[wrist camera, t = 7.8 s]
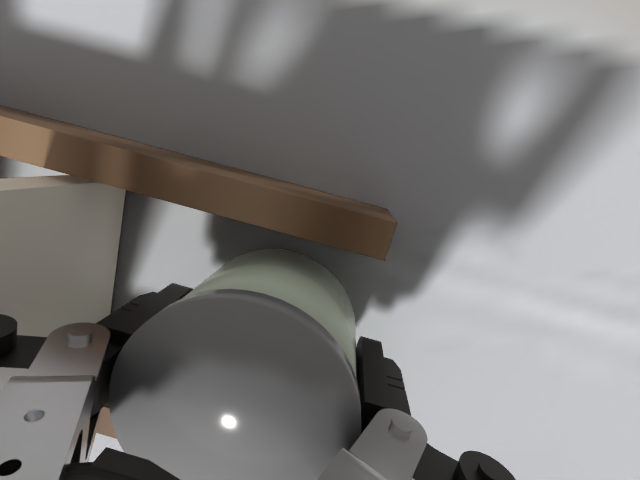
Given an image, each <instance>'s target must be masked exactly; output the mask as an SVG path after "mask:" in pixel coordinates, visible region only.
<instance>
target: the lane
mask: <svg viewBox="0 0 640 480" xmlns="http://www.w3.org/2000/svg"><path fill="white" fill-rule="evenodd" d="M0 156H3V157H7V158H10V159H14V160H18V161H21V162H25V163H29V164H32V165H36V166H40V167H43V168H47V169H51V170H54V171H58V172H62V173H65V174H69V175H73V176H76V177H80V178H84V179H87V180H91V181H95V182H98V183H102V184H106V185H109V186H113V187H117V188H120V189H124V190H128V191H131V192H135V193H139V194H142V195H146V196H150V197H153V198H157V199H161V200H164V201H168V202H172V203H175V204H179V205H183V206H186V207H190V208H194V209H197V210H201V211H205V212H208V213H212V214H216V215H219V216H223V217H227V218H230V219H234V220H238V221H241V222H245V223H249V224H252V225H256V226H260V227H263V228H267V229H271V230H274V231H278V232H282V233H285V234H289V235H293V236H296V237H300V238H304V239H307V240H311V241H315V242H318V243H322V244H326V245H329V246H333V247H337V248H340V249H344V250H348V251H351V252H355V253H359V254H362V255H366V256H370V257H373V258H377V259H381V260H384V261H385V259H386V256H387V253H388V250H389V247H390V244H391V240H392V237H393V234H394V231H395V228H396V225H397V222H396V221H395V219H394V218H393V217H392V215H391V214H390V213H389V211H388V210H387V209H384V208H380V207H377V206H373V205H369V204H365V203H362V202H358V201H354V200H350V199H347V198H343V197H339V196H336V195H332V194H328V193H324V192H321V191H317V190H313V189H309V188H306V187H302V186H298V185H295V184H291V183H287V182H283V181H280V180H276V179H272V178H269V177H265V176H261V175H257V174H254V173H250V172H246V171H242V170H239V169H235V168H231V167H228V166H224V165H220V164H216V163H213V162H209V161H205V160H201V159H198V158H194V157H190V156H187V155H183V154H179V153H175V152H172V151H168V150H164V149H161V148H157V147H153V146H149V145H146V144H142V143H138V142H134V141H131V140H127V139H123V138H120V137H116V136H112V135H108V134H105V133H101V132H97V131H93V130H90V129H86V128H82V127H79V126H75V125H71V124H67V123H64V122H60V121H56V120H53V119H49V118H45V117H41V116H38V115H34V114H30V113H26V112H23V111H19V110H15V109H12V108H8V107H4V106H0ZM96 433H99V434H103V435H106V436H109V437H113V438H116V439H117V436H116V433H115V431H114V428H113V424H112V420H111V415H110V408H109V403H107V404H106V405H105V406H104V407H103V408H102V409H101V411H100V419H99V423H98V427H97V431H96Z"/></svg>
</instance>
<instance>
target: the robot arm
mask: <svg viewBox="0 0 640 480" xmlns="http://www.w3.org/2000/svg"><path fill="white" fill-rule="evenodd" d="M192 290H193V289H192V288H188V287H185V286H181V285H178V284H174V283H172V284H170V285H169V286H167V287H166V288H164V289H163V290H161V291H160V292H158V293H155V292H151V293H148V294H144V295H141V296H138V297H137V298H135V299H134V300H132V301H130V302H129V304H128V303H127V304H126V305H124V306H122V307H121V309H118V310H116V311H115V312H113V313H111V314H110V315H108V316H107V317H105V318H103V319H102V320H100V321H99V322H97V323H96V324H95V323H72V324H68V325H64V326H61V327H59V328H57V329H55V330H53V331H52V332H51V333H50V334H49V336H48V337H38V336H25V335H17V325H18V324H17V321H16V320H15V319H14V318H12V317H10V316H7V315H3V314H0V480H180V479H179V478H177V477H175V476H174V475H172V474H171V473H169V472H167V471H166V470H164V469H163V468H161V467H159V466H158V465H156V464H155V463H153V462H152V461H150V460H147V459H144V458H141V457H137V456H134V455H131V454H127V453H124V452H120V451H117V450H114V449H110V448H107V447H106V448H105V449H104V450H103V452H102V453H101V454H100V455H99V456H98V457H97V459H96V460H95V461H94V462H88V461H89V457H90V453H91V450H92V446H93V442H94V438H95V434H96V431H97V427H98V423H99V419H100V411H101V409H102V408H103V407H104V406H105V405H106V404H107V403H109V384H110V379H111V375H112V370H113V367H114V365H115V362H116V359H117V357H118V355H119V353H120V352H121V350H122V348H123V346H124V344H125V343H126V342H127V341H128V339H129V338H130V337H131V336H132V334H133V333H134V332H135V331H136V330H137V329H138V328H140V327H141V326H142V325H143V324H144V323H145V322H146V321H148V320H149V319H150V318H151V317H153V316H154V315H155V314H157V313H158V312H159V311H161V310H162V309H164V308H165V307H167V306H168V305H170V304H171V303H173V302H175V301H177V300H180V299H182V298H183V297H185V296H186V295H187V294H188V293H190V292H191V291H192ZM356 379H357V383H358V388H359V392H360V402H361V426H362V428H361V435H360V437H359V438H358V439H357V441H356V442H355V443H354V445H353V446H352V447H351V449H350V450H349V451H348V450H347V449H345V448H342V449H341V450H340V451H339V452H338V454H337V455H336V456H335V457H334V459H333V460H332V461H331V463H330V464H329V465H328V466H327V468H326V469H325V470H324V471H323V473H322V474H321V475H320V477H319V478H318V479H317V480H515V478H514V477H513V475H512V474H511V473H510V472H509V471H508V470H507V469H506V468H505V467H504V466H503V465H502V464H500V463H499V462H498V461H496V460H495V459H493V458H491V457H490V456H488V455H486V454H483V453H481V452H477V451H466V452H464V453H463V454H462V455H461V456H460V459H459V461H456V460H454V459H452V458H451V457H449V456H447V455H445V454H443V453H441V452H439V451H438V450H436V449H434V448H433V447H432V446H430V445H429V444H428V443H427V434H426V432H425V430H424V428H423V427H422V426H421V424H420V423H419V422H418V421H417V420H415V419H414V418H413V417H411V413H410V409H409V404H408V400H407V396H406V391H405V387H404V383H403V378H402V374H401V370H400V369H399V367H398V366H397V365H396V363H395V362H394V361H393V360H392V359H388V358H385V357H383V350H382V344H381V342H380V341H376V340H372V339H369V338H365V337H362V336H361V337H360V338H359V341H358V343H357V347H356Z"/></svg>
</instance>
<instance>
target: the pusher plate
mask: <svg viewBox="0 0 640 480" xmlns="http://www.w3.org/2000/svg"><path fill="white" fill-rule="evenodd" d="M125 192H126V190H124V189H120V188H117V187H113V186H109V185H106V184H102V183H98V182H95V181H91V180H87V179H84V178H80V177H76V176H73V175H62V176H41V177H21V178H1V179H0V314H3V315H7V316H10V317H12V318H14V319H15V320H16V321H17V324H18V325H17V335H25V336H38V337H48V336H49V334H50V333H51V332H52V331H53V330H55V329H57V328H59V327H61V326H64V325H68V324H72V323H95V324H96V323H97V322H99V321H100V320H102V319H103V318H105V317H107V316H108V315H110V312H111V304H112V296H113V288H114V280H115V272H116V264H117V256H118V248H119V240H120V232H121V224H122V216H123V208H124V200H125Z"/></svg>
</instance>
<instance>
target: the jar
mask: <svg viewBox="0 0 640 480" xmlns="http://www.w3.org/2000/svg"><path fill="white" fill-rule="evenodd" d="M109 408H110V415H111V420H112V424H113V428H114V431H115V433H116V436H117V439H118V441H119V443H120V445H121V447H122V449H123V451H124V453H127V454H131V455H134V456H137V457H141V458H144V459H147V460H150V461H152V462H153V463H155V464H156V465H158V466H159V467H161V468H163V469H164V470H166V471H167V472H169V473H171V474H172V475H174V476H175V477H177V478H179V479H180V480H317V479H318V478H319V477H320V475H321V474H322V473H323V471H324V470H325V469H326V468H327V466H328V465H329V464H330V463H331V461H332V460H333V459H334V457H335V456H336V455H337V454H338V452H339V451H340V450H341V449H342V448H345V449H347V450H348V451H349V450H350V449H351V447H352V446H353V445H354V443H355V442H356V441H357V439H358V438H359V437H360V435H361V428H362V426H361V402H360V392H359V388H358V383H357V379H356V328H355V316H354V311H353V307H352V304H351V302H350V299H349V297H348V295H347V293H346V291H345V289H344V288H343V286H342V285H341V283H340V282H339V281H338V280H337V278H336V277H335V276H334V275H333V274H332V273H331V272H330V271H329V270H327V269H326V268H325V267H324V266H323V265H321V264H319V263H318V262H316V261H315V260H313V259H311V258H309V257H307V256H305V255H302V254H299V253H296V252H293V251H288V250H283V249H261V250H255V251H251V252H248V253H245V254H242V255H240V256H238V257H236V258H234V259H232V260H230V261H229V262H228V263H226V264H225V265H223V266H222V267H221V268H220V269H218V270H217V271H216V272H215V273H213V274H212V275H211V276H210V277H208V278H207V279H206V280H205V281H203V282H202V283H201V284H200V285H198V286H197V287H196V288H195V289H193V290H192V291H191V292H190V293H188V294H187V295H186V296H185V297H183V298H182V299H180V300H177V301H175V302H173V303H171V304H170V305H168V306H167V307H165V308H164V309H162V310H161V311H159V312H158V313H157V314H155V315H154V316H153V317H151V318H150V319H149V320H148V321H146V322H145V323H144V324H143V325H142V326H141V327H140V328H138V329H137V330H136V331H135V332H134V333H133V334H132V336H131V337H130V338H129V339H128V341H127V342H126V343H125V344H124V346H123V348H122V350H121V352H120V353H119V355H118V357H117V359H116V362H115V365H114V367H113V370H112V375H111V379H110V384H109Z"/></svg>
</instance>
